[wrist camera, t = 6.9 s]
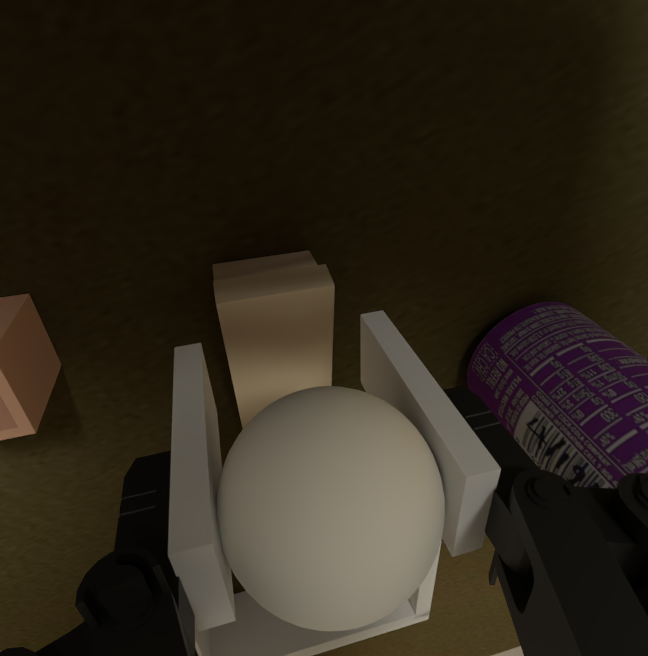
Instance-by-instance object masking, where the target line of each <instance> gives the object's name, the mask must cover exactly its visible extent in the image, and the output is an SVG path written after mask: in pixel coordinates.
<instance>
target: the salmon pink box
mask: <svg viewBox="0 0 648 656" xmlns="http://www.w3.org/2000/svg"><path fill="white" fill-rule="evenodd" d="M60 368H61V362H60V360H59V358H58V356H57V354H56V351H55V349H54V347H53V345H52V343H51V340H50V338H49V336H48V334H47V332H46V329H45V327H44V325H43V323H42V321H41V318H40V316H39V314H38V312H37V310H36V307H35V305H34V303H33V301H32V299H31V296H30V294H29V293H28V294H21V295H14V296H7V297H0V440H5V439H10V438H15V437H20V436H25V435H30V434H35V433H36V432H37V429H38V427H39V424H40V421H41V419H42V416H43V413H44V411H45V408H46V405H47V403H48V400H49V397H50V395H51V392H52V389H53V387H54V384H55V381H56V379H57V376H58V373H59V371H60Z"/></svg>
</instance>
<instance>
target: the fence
mask: <svg viewBox="0 0 648 656" xmlns="http://www.w3.org/2000/svg"><path fill="white" fill-rule="evenodd" d="M440 547H441V543H440V546H439V549H438V553H437V556H436V558H435V560H434V563H433V565H432V567H431V568H430V570H429V572H428V574H427V576H426V578H425V579H424V581H423V582H422V583H421V585H420V586H419V587H418V588H417V590H416V591H415V592H414V594H413V595H412V596H411V597H410V598H409V599H408V600H407V601H406V602H405V603H403V604H402V605H401V606H400V607H398V608H397V609H396V610H394V611H393V612H392V613H390V614H389V615H387V616H386V617H384V618H382V619H380V620H378V621H376V622H374V623H371V624H369V625H366V626H363V627H360V628H356V629H351V630H343V631H318V630H312V629H307V628H303V627H299V626H296V625H294V624H291V623H289V622H287V621H284V620H282V619H280V618H278V617H277V616H275V615H273V614H272V613H270V612H269V611H267V610H266V609H265V608H263V607H262V606H261V605H260V604H259V603H257V602H256V601H255V600H254V599H253V598H252V597H251V596H250V595H249V594H248V593H247V592H246V591H243V592H240V593H236V594H233V595H234V606H235V618H236V621H233V622H230V623H226V624H223V625H219V626H216V627H213V628H209V629H206V630H203V631H198V629H197V626H196V624H195V648H196V650H197V653H198V655H199V656H313V655H316V654H319V653H322V652H325V651H329V650H332V649H335V648H338V647H341V646H345V645H348V644H351V643H354V642H357V641H360V640H364V639H367V638H370V637H373V636H376V635H380V634H383V633H386V632H389V631H392V630H396V629H399V628H402V627H405V626H408V625H412V624H415V623H418V622H421V621H424V620H428V618H429V612H430V606H431V600H432V595H433V589H434V583H435V577H436V571H437V565H438V559H439V553H440Z"/></svg>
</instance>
